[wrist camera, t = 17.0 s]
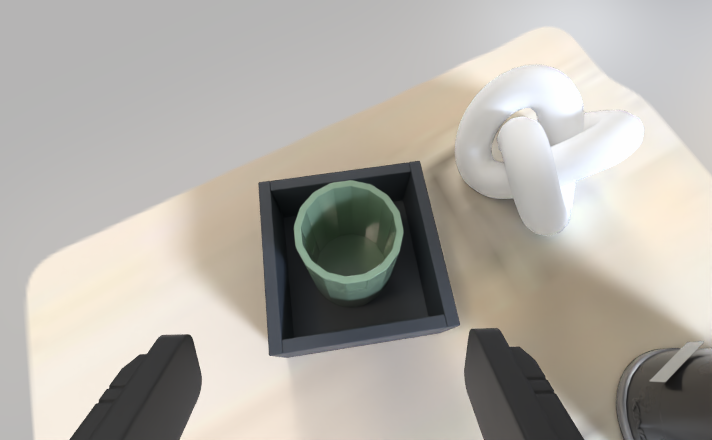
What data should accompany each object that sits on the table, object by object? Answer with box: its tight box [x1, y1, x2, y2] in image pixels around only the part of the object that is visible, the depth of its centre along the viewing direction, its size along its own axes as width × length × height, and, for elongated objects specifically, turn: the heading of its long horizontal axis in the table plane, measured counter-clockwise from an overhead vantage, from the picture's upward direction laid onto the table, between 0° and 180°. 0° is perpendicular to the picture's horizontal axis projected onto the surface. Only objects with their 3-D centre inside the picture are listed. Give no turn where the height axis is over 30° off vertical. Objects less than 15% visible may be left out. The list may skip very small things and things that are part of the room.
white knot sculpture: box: [455, 65, 644, 236], centre depth 28 cm, size 11×12×9 cm
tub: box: [259, 161, 460, 358], centre depth 27 cm, size 12×12×6 cm
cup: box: [294, 180, 404, 308], centre depth 25 cm, size 6×6×9 cm
